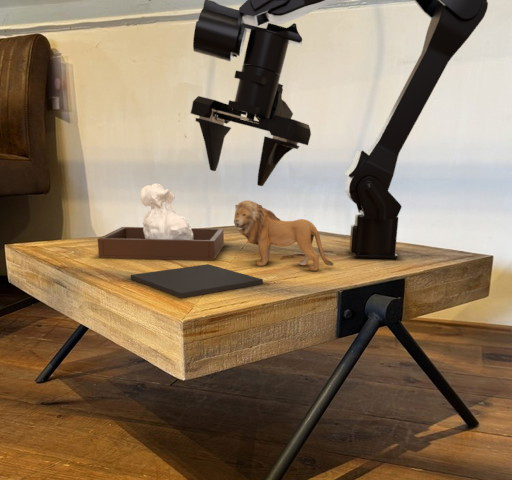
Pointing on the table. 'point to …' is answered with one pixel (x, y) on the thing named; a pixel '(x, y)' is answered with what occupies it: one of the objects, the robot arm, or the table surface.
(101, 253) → the walnut tray
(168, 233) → the bust
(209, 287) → the charcoal mat
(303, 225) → the lion figurine
